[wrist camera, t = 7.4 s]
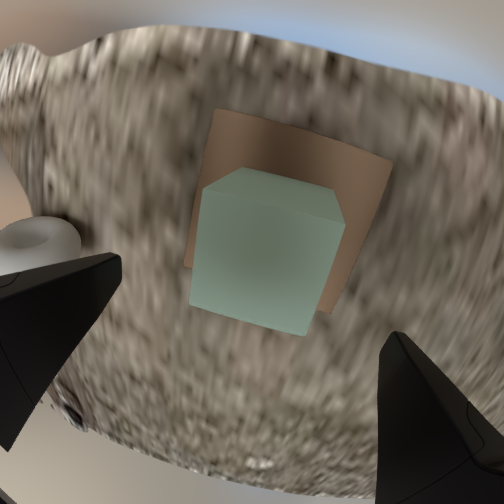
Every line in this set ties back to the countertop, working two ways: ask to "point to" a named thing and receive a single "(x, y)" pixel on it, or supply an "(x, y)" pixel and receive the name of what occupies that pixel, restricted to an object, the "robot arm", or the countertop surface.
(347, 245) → the walnut base
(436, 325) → the countertop surface
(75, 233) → the donut
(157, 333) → the countertop surface
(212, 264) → the sage block
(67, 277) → the robot arm
